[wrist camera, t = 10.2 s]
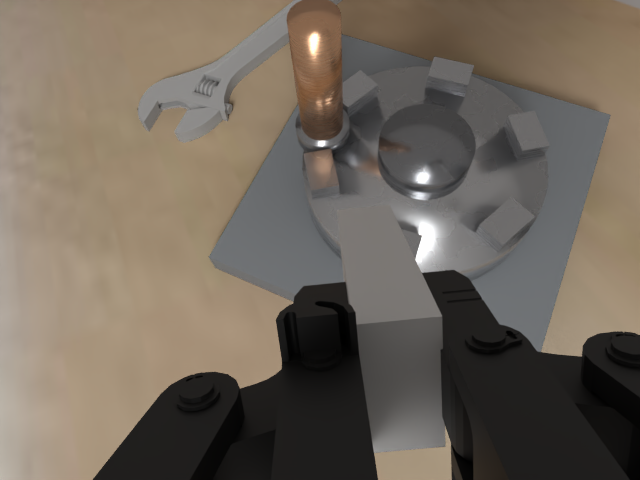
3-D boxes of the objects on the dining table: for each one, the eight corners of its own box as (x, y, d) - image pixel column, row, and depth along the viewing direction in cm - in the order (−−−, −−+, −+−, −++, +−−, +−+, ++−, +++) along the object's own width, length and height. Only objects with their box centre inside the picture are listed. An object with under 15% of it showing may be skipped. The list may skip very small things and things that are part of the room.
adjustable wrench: (351, -31, 51) (351, -48, 49) (398, 3, 48) (400, -14, 47) (134, 114, 44) (126, 100, 43) (177, 160, 42) (171, 147, 41)
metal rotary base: (551, 122, 39) (639, -33, 27) (508, 321, 33) (596, 234, 21) (336, 71, 42) (331, -88, 30) (262, 245, 36) (218, 131, 24)
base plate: (599, 131, 41) (610, 114, 39) (518, 398, 33) (528, 394, 31) (339, 51, 46) (339, 33, 44) (215, 267, 38) (208, 257, 36)
